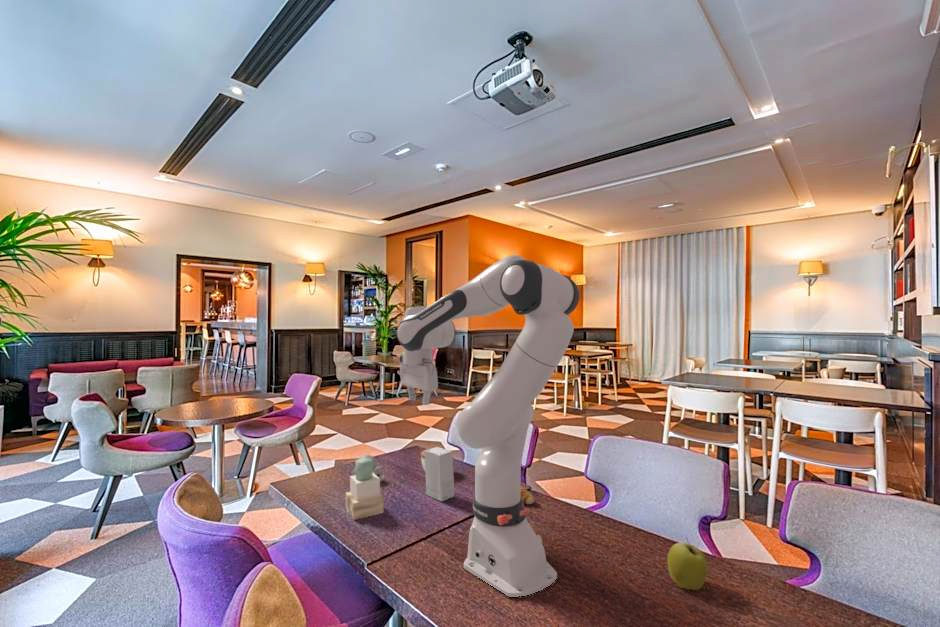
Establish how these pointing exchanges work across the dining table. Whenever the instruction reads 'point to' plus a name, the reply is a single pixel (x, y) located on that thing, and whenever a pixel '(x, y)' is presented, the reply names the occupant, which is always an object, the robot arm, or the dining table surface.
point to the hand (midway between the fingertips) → (418, 402)
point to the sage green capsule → (364, 469)
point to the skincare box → (439, 473)
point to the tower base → (364, 506)
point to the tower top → (364, 487)
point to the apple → (687, 566)
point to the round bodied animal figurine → (376, 469)
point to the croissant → (526, 496)
